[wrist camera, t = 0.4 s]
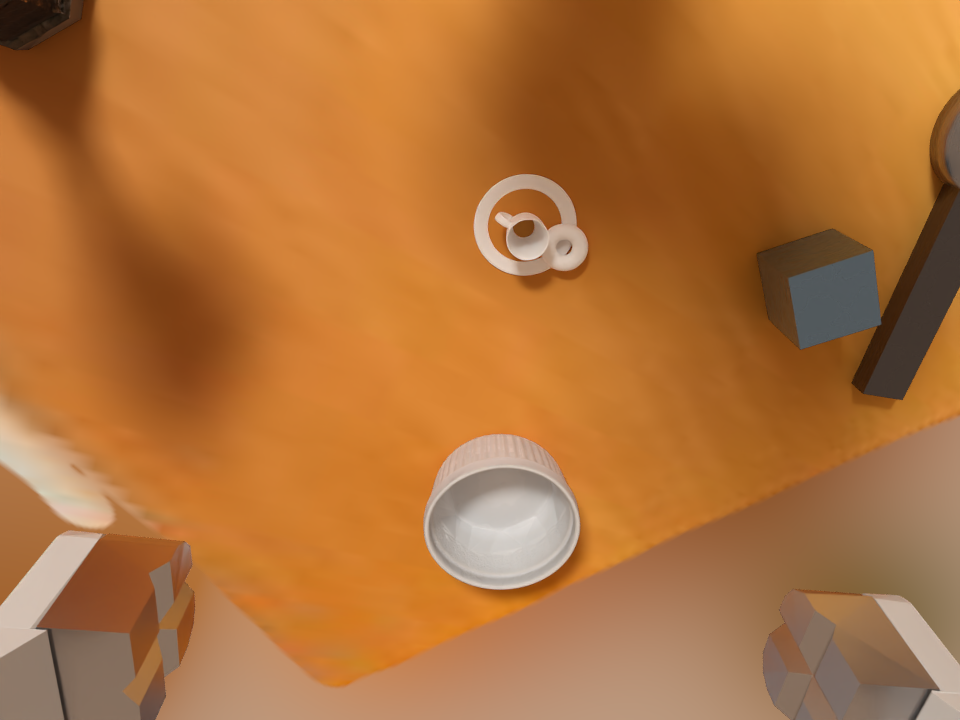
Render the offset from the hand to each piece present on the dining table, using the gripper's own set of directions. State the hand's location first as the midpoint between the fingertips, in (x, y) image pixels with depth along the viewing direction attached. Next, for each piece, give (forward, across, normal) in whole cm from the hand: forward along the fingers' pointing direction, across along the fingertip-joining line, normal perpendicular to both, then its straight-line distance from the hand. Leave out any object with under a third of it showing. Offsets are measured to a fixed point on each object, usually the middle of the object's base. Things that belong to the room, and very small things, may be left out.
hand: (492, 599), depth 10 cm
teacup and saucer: (+47, -6, +9) cm, 48 cm away
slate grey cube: (+46, -28, +8) cm, 54 cm away
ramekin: (+46, -6, +30) cm, 56 cm away
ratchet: (+46, -38, +4) cm, 60 cm away
